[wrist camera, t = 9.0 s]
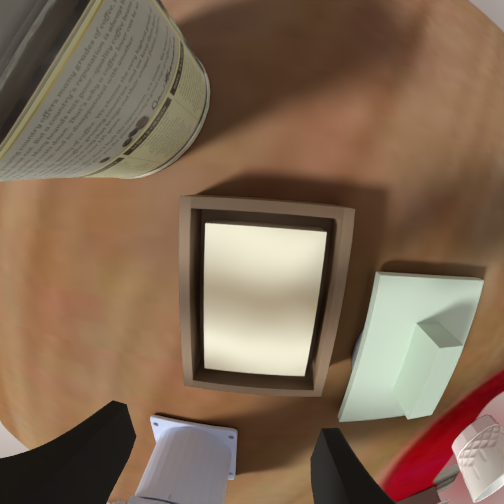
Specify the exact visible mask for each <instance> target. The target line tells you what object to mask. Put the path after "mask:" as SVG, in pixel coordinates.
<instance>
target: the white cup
mask: <svg viewBox="0 0 504 504" xmlns="http://www.w3.org/2000/svg"><path fill="white" fill-rule="evenodd" d="M452 450H453V452H454V454H455V456H456V459H457V463H458V466H459V467H460V471H461V473H462V474H463V478H464V481H465V483H466V485H467V487H468V490H469V492H470V495H471V497H472V500H473V503H476V502H479V501H481V500H483V499H484V498H486V497H488V496H489V495H491V494H492V493H494V492H495V491H497V490H498V489H499V488H501V487H502V486H503V485H504V429H503V428H502V427H501V426H500V425H499V424H498V423H497V422H496V421H495V419H494V418H493V417H492V416H490V415H485V416H482V417H480V418H478V419H477V420H475V421H474V422H472V423H471V424H470V425H469V426H467V427H466V428H465V429H464V430H463V431H462V432H461V433H460V434H459V435H458V437H457V438H456V439H455V440H454V442H453V445H452Z"/></svg>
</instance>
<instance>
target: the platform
mask: <svg viewBox="0 0 504 504" xmlns="http://www.w3.org/2000/svg"><path fill="white" fill-rule="evenodd" d="M459 471H460V467H459V466H458V463H456V464H454V465H452V466H450V467H448V468H446V469H445V470H442V471H441V472H440V473H439V474H438V475H437V477H436V478H435V480H434V481H433V484H435V485H437V486H438V487H437V489H436V488H435V486H434V487H432V488H430V489H427V490H425V491H423V492H421V493H418V494H416V495H413V496H411V497H409V498H406V499H403V500H401V501H398V502H395V503H396V504H447V503H448V499H446V500H444V501H442V502H441V501H440V498H439V496H438V493H440V492H442V491H444V490H446V489H448V488H450V487H451V486H452V484H453V482H454V480H455V479H456V477H457V475H458V473H459Z"/></svg>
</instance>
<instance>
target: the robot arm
mask: <svg viewBox="0 0 504 504" xmlns="http://www.w3.org/2000/svg"><path fill="white" fill-rule="evenodd" d="M150 420H151V424H152V428H153V432H154V436H155V440H156V446H155V448H154V450H153V453H152V455H151V457H150V460H149V462H148V465H147V467H146V469H145V472H144V474H143V476H142V479H141V481H140V484H139V486H138V488H137V491H136V493H135V496H134V495H131V496H130V498H129V500H128V503H127V502H125V501H122V500H118V501H117V502H113V503H111V504H224V501H225V495H226V489H227V482H228V479H229V480H233V479H235V471H236V452H237V433H238V432H237V430H236V429H234V428H227V427H219V426H212V425H205V424H198V423H193V422H187V421H182V420H176V419H172V418H167V417H162V416H158V415H152V416H151V418H150ZM135 439H136V434H135V431H134V428H133V425H132V422H131V418H130V415H129V412H128V408H127V404H124V403H120V402H117V401H111V402H110V403H108V404H107V405H106V406H104V407H103V408H101V409H100V410H99V411H97V412H96V413H95V414H93V415H92V416H90V417H89V418H87V419H86V420H85V421H83V422H82V423H80V424H79V425H77V426H76V427H74V428H73V429H71V430H70V431H68V432H66V433H65V434H63V435H61V436H59V437H58V438H56V439H54V440H52V441H50V442H48V443H46V444H44V445H42V446H40V447H37V448H35V449H32V450H30V451H27V452H24V453H20V454H17V455H14V456H10V457H5V458H0V504H106V503H107V500H108V498H109V496H110V494H111V492H112V490H113V488H114V486H115V484H116V482H117V480H118V478H119V476H120V474H121V472H122V470H123V469H124V467H125V465H126V463H127V461H128V459H129V457H130V454H131V451H132V448H133V445H134V442H135ZM311 484H312V491H313V498H314V504H396V503H395V502H394V501H393V500H392V499H391V498H390V497H389V496H388V495H387V494H386V493H385V492H384V491H383V490H382V489H381V488H380V487H379V485H378V484H377V483H376V482H375V481H374V479H373V478H372V477H371V476H370V474H369V473H368V472H367V470H366V469H365V468H364V466H363V465H362V464H361V462H360V461H359V459H358V458H357V457H356V455H355V454H354V452H353V451H352V449H351V447H350V446H349V444H348V443H347V441H346V439H345V438H344V436H343V434H342V433H341V431H340V429H338V428H326V429H321V432H320V435H319V438H318V440H317V443H316V446H315V449H314V451H313V454H312V456H311Z"/></svg>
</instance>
